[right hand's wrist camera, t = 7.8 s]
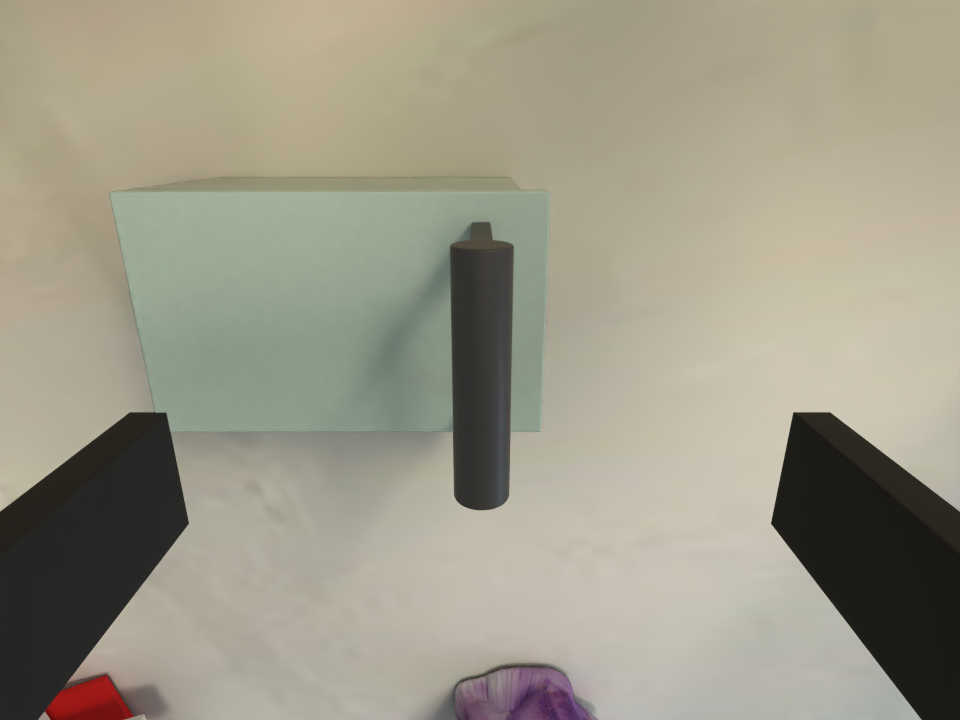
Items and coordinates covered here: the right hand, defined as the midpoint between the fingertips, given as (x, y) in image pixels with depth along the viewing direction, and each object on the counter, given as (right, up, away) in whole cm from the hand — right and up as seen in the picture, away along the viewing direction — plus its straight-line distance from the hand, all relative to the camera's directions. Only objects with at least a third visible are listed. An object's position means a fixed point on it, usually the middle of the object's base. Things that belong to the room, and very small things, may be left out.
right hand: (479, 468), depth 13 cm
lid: (-6, +4, +11) cm, 13 cm away
